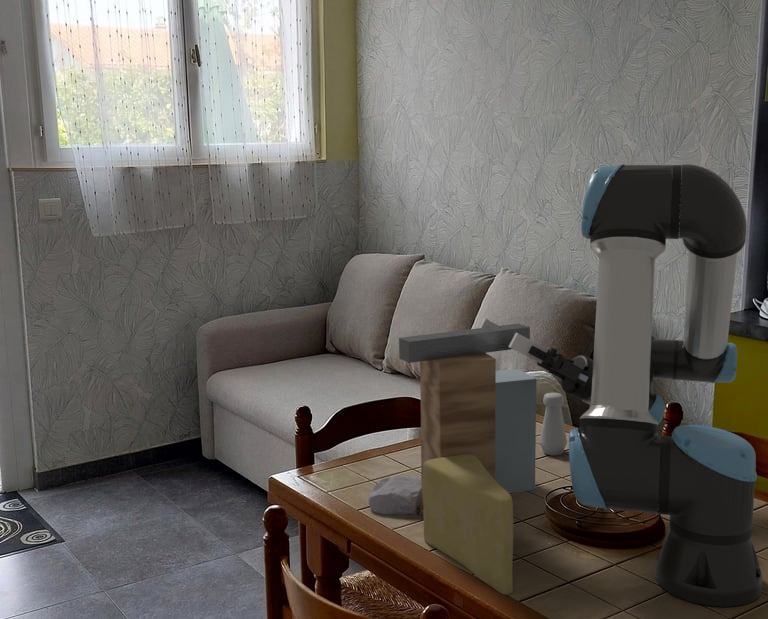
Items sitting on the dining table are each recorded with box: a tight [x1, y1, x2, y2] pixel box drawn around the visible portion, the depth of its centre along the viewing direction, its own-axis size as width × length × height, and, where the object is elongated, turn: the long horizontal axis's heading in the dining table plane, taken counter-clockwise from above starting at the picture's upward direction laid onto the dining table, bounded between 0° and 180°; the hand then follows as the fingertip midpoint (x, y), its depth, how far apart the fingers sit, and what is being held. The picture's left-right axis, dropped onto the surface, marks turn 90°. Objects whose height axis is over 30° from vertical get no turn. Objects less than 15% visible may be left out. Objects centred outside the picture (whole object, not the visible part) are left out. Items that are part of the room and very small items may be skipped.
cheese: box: [423, 454, 514, 595], centre depth 143 cm, size 22×10×15 cm, turn 20°
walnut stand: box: [417, 353, 497, 519], centre depth 158 cm, size 11×11×30 cm
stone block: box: [368, 475, 422, 516], centre depth 169 cm, size 12×5×10 cm
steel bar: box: [398, 323, 531, 364], centre depth 157 cm, size 4×24×4 cm, turn 115°
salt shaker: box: [538, 392, 568, 457], centre depth 193 cm, size 6×6×13 cm
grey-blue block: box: [495, 368, 537, 494], centre depth 174 cm, size 8×14×22 cm, turn 107°
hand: (496, 332), depth 157 cm, fingers open, 13 cm apart
